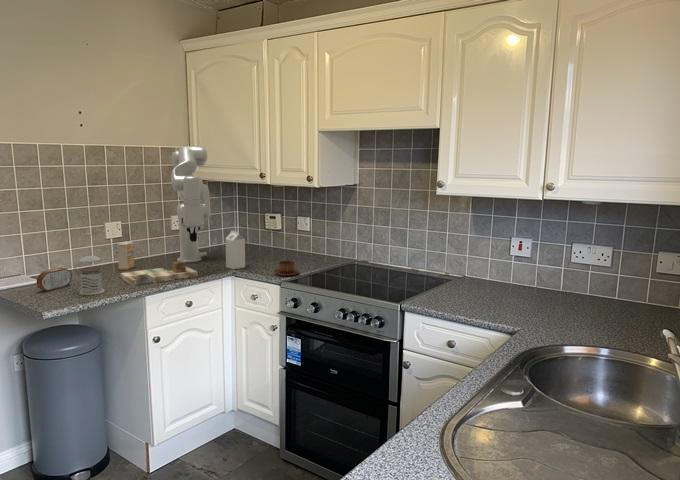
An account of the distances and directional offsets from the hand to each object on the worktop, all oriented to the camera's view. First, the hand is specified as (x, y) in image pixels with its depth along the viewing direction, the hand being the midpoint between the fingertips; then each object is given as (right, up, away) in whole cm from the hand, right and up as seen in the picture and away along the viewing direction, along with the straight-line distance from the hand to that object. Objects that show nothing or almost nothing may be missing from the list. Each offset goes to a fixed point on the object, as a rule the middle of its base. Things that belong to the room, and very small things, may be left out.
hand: (193, 241), depth 239 cm
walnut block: (-6, -14, -2) cm, 16 cm away
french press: (-35, -21, -30) cm, 50 cm away
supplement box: (-38, -14, +14) cm, 43 cm away
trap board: (-15, -17, -4) cm, 23 cm away
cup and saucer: (+44, -17, +7) cm, 47 cm away
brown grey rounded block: (-51, -20, -25) cm, 61 cm away
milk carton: (+16, -14, +20) cm, 29 cm away
